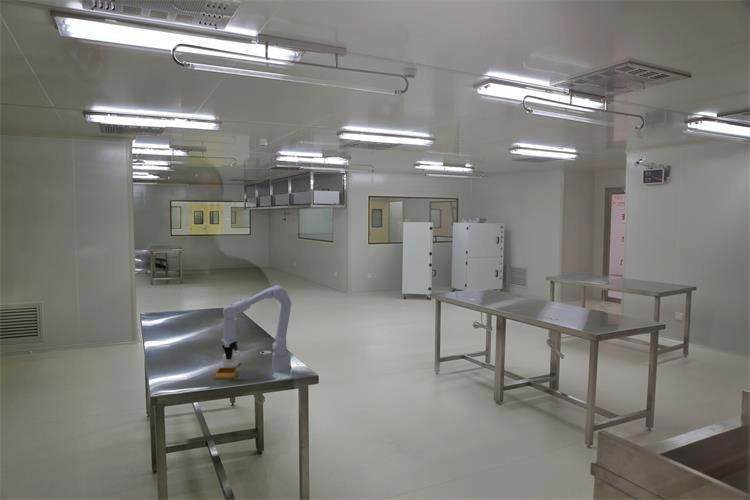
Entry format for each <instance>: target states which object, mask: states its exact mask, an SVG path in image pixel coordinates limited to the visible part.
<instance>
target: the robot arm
mask: <svg viewBox="0 0 750 500" xmlns="http://www.w3.org/2000/svg"><path fill="white" fill-rule="evenodd" d="M265 299H271V300H272V299H275V300H277V301H278V303H279V304H280V312H279V317H278V324H277V327H276V329H277V330H276V335H275V337H274V340H273V342H272V344H271V348H272V350H273V352H272V354H271V361H272V363H271V364H272V365H271V366H272V367H271V368H272V370H271V371H272V372H273V373H285V372H286V373H287V372H288V373H290V372H291V370H292V363H291V360H292V359H291V354H289V353H288V354H287V351H288V348H287V333H288V327H289V321H290V315H291V307H292V301H291V298H290V296H289V294H288V292H287V291H286V289H284V288H283V287H282V286H281V285H278V284H275V285H273V286H271V287H267V288H266V289H264V290H262V291H260V292H259V293H257V294H255V295H252V296H251V297H249V298H245V297H244V298H239V300H238V301H236V302H234V303H230V305H226V306H224V308H223V310H222V314H223V323H222V324H223V327H222V328H223V329H222V330H223V331H222V333H223V338H221V340H220V342H223V343H224V344H222V345H221V346H222V349H223V351H224V354H225V355H226V359H231V358H232V351H233V349H234V348H235V345H236V344H237V343H238V341H237V339H236V335H237V334H236V333H237V331H236V330H237V329H236V328H237V327H236V324H237V323H236V316H237V315H239V314H241V313H244V312H246V311H247V310H249V309H251V306H252V305H254V304H256V303H258V302H260V301H263V300H265Z"/></svg>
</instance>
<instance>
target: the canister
mask: <svg viewBox="0 0 750 500" xmlns="http://www.w3.org/2000/svg"><path fill="white" fill-rule="evenodd" d="M226 362H228V363H231V362H234V349H233V351H232V358H231V359H226Z"/></svg>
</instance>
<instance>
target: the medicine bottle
mask: <svg viewBox="0 0 750 500" xmlns="http://www.w3.org/2000/svg"><path fill="white" fill-rule="evenodd" d="M240 354H241V352H240V351H239V350H238V344H237V343H236V345H235V348H234V362H231V363H228V362H226V355H225V353H224V354H222V366H223V367H239V364H240V363H241V361H240V360H241V355H240ZM223 367H222V368H223Z"/></svg>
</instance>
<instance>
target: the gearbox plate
mask: <svg viewBox="0 0 750 500" xmlns="http://www.w3.org/2000/svg"><path fill="white" fill-rule="evenodd" d="M260 371H261V370H260V369H257V370H255V369H254V370H239V366H228V367H218V368H217V369H216V371H215V372H214V379H213V381H227V380H230V381H231V380H235V381H236V380H256V379H257V378H258V376H259V373H260Z"/></svg>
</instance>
